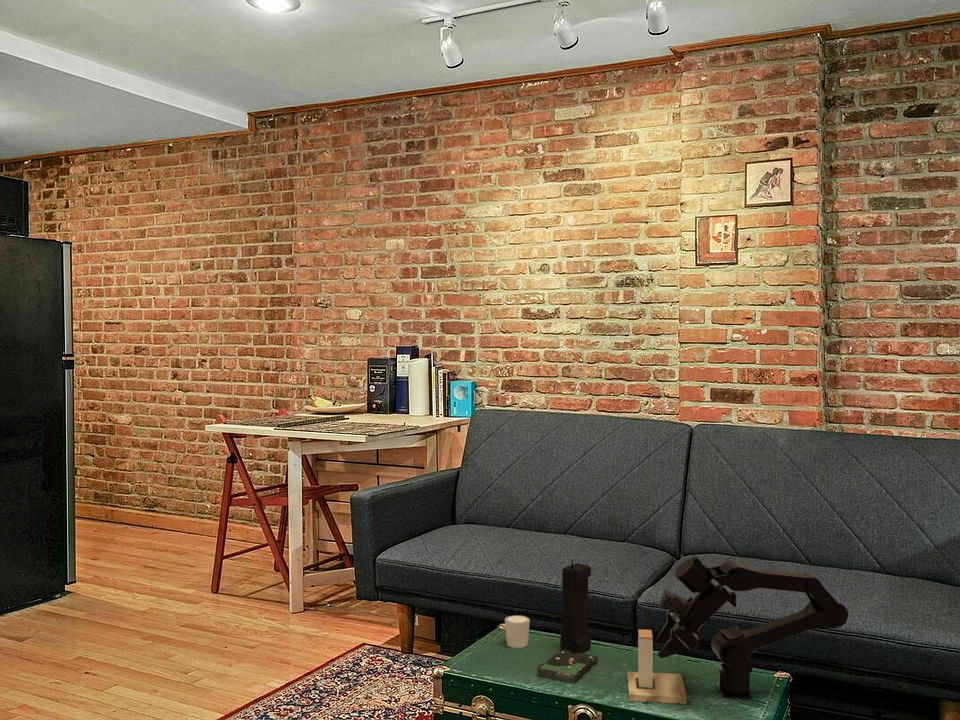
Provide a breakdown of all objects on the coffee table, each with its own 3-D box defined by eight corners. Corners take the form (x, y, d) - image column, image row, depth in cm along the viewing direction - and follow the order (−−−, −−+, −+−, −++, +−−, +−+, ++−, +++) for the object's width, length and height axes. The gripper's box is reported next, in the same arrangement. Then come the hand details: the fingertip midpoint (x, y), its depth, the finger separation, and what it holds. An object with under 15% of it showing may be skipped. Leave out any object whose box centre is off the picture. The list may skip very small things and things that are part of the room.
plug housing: (651, 679, 214) (651, 630, 213) (652, 687, 208) (652, 637, 208) (638, 678, 214) (638, 629, 214) (639, 687, 209) (639, 636, 209)
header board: (680, 680, 217) (681, 661, 217) (686, 703, 203) (686, 684, 203) (627, 677, 219) (627, 659, 219) (629, 701, 205) (629, 681, 205)
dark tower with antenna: (574, 642, 243) (574, 552, 242) (593, 647, 239) (593, 556, 239) (558, 650, 237) (558, 558, 236) (577, 656, 233) (577, 562, 233)
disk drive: (561, 659, 233) (536, 678, 220) (561, 648, 233) (536, 666, 220) (598, 666, 228) (575, 686, 215) (598, 655, 228) (575, 674, 215)
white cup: (518, 638, 247) (518, 613, 247) (535, 644, 242) (535, 619, 242) (499, 643, 243) (499, 618, 243) (516, 650, 238) (516, 624, 237)
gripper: (676, 569, 219) (631, 612, 221) (683, 592, 200) (634, 638, 202) (709, 602, 218) (664, 645, 220) (719, 627, 199) (670, 674, 201)
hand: (657, 649), depth 211 cm, fingers open, 9 cm apart
